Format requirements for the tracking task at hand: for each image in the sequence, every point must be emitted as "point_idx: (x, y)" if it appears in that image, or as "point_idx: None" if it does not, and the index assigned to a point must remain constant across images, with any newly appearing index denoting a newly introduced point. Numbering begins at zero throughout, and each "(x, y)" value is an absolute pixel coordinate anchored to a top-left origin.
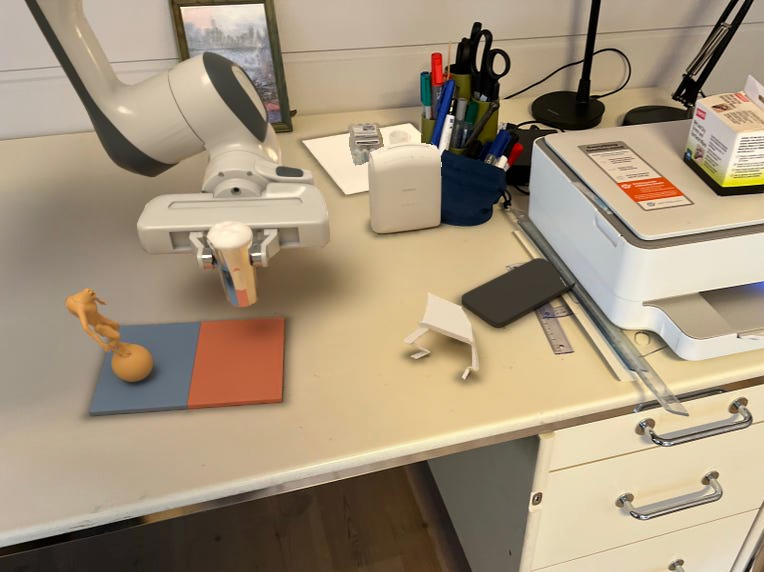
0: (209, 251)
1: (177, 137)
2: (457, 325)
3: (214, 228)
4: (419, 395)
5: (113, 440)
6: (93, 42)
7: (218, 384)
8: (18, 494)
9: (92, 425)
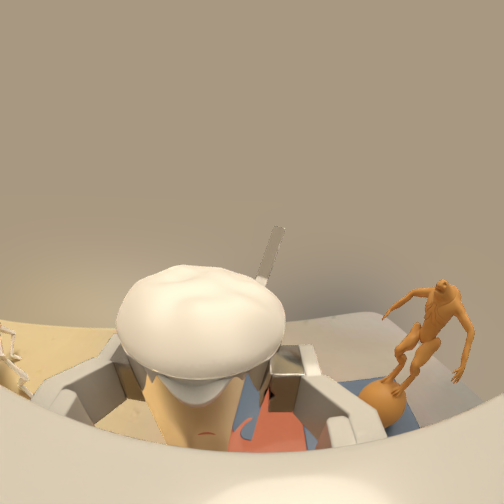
0: (279, 358)
1: None
2: None
3: (253, 295)
4: (60, 357)
5: (354, 359)
6: None
7: (263, 409)
8: (390, 324)
9: (382, 371)
